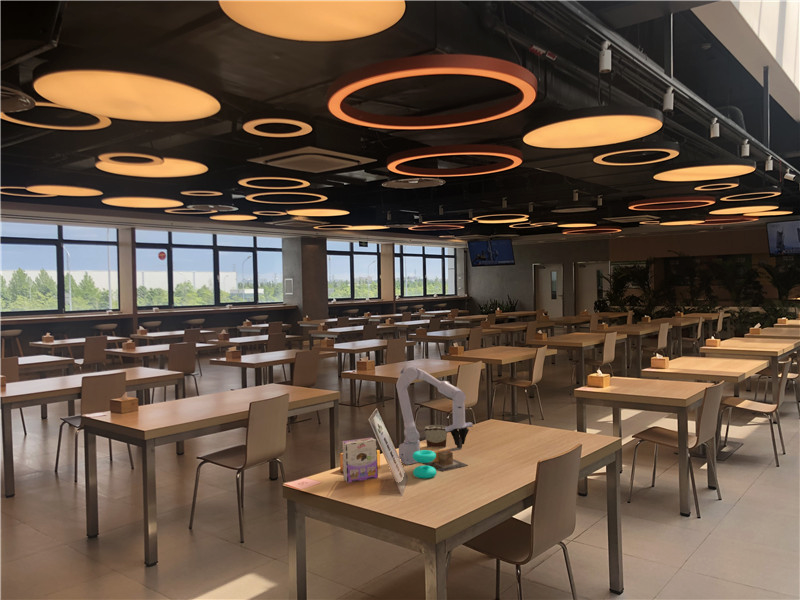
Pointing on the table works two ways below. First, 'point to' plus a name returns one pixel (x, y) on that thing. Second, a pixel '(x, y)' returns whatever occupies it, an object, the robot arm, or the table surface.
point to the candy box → (360, 459)
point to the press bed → (446, 467)
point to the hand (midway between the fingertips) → (459, 444)
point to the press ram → (448, 450)
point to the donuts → (424, 470)
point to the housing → (445, 457)
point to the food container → (435, 435)
